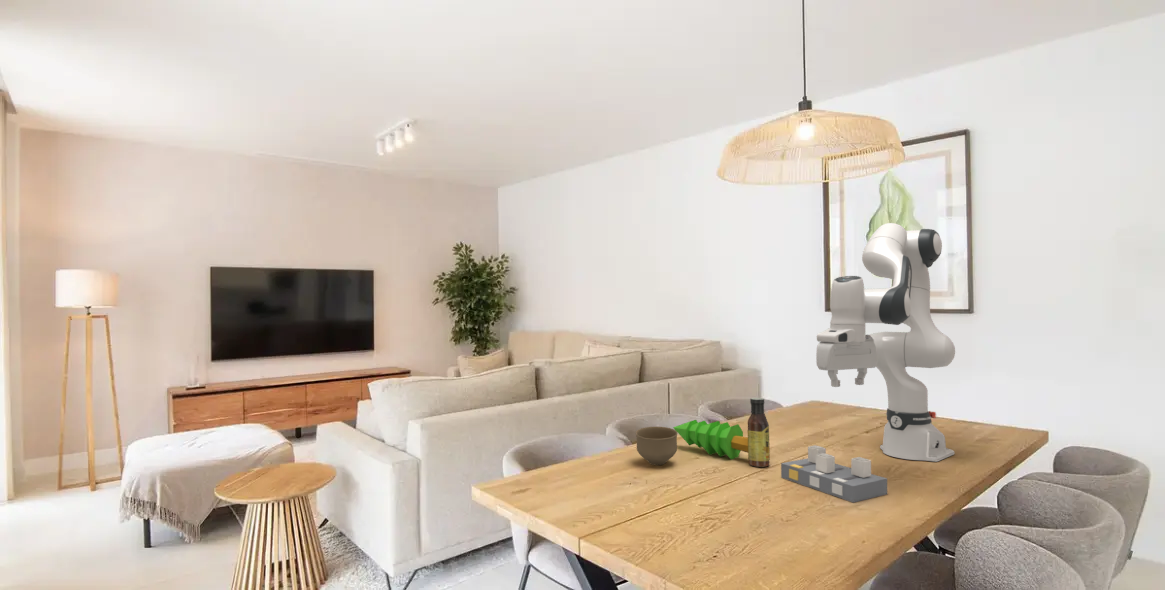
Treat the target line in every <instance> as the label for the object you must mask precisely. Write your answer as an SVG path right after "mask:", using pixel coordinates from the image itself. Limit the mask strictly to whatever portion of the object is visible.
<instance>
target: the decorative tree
mask: <svg viewBox="0 0 1165 590" xmlns="http://www.w3.org/2000/svg"><path fill="white" fill-rule="evenodd" d="M672 429H674V430H676V431H677V433H678V435H679V436H680V437H681V438H682V439H683V440H684V441H685V442H686V444H687V445H689V446H691V445H695V446H697V447H698V448H703V450H704V451H705V452H706V453H707V454H708V455H710V456H711V455H714V454H717V455H718V456H719V457H723V456H727V457H728V459H730V460H731V461H732V460H734V459H737V458H739V457H740V453H741V452H745V453H747V454H748V436H747V437H746V436H744V430H742V428H741V426H740V424H739V423H738V424H734V425H730V423H729V422H728V421H726V422H723V423H720V421H719V420H718V421H717V420H716V421H715V422H710V423H707V421H706V420H702V421H698V420H697V419H694V420H691V421H690V420H689V421H686V422H685V423H682V424H680V425H675V426H673V427H672Z"/></svg>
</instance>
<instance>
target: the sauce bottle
mask: <svg viewBox="0 0 1165 590" xmlns="http://www.w3.org/2000/svg"><path fill="white" fill-rule="evenodd" d="M749 400H750V401H749V402H750V408H751V410H750V416H749V418H748V419H747V437H748V453H747V454H748V455H747V456H748V457H747V458H748V464H749V465H750V466H752V467H756V468H765V467H768V466H770V460H771V456H770V455H771V453H770V452H771V451H770V449H771V448H770V445H771V444H770V425H769V422H768V419H767V416H766V412H765V398H763V397H751V398H750V399H749Z"/></svg>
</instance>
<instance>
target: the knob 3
mask: <svg viewBox="0 0 1165 590" xmlns="http://www.w3.org/2000/svg"><path fill="white" fill-rule="evenodd" d="M850 460H851V461H850V463H851V466H850V468H851V474H852V475H856V476H859V477H862V478H865V477H869V476H871V474H872V460H871V459H868V458H866V457H865V458H864V457H861V456H857V457H852V458H850Z"/></svg>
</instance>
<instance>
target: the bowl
mask: <svg viewBox="0 0 1165 590" xmlns="http://www.w3.org/2000/svg"><path fill="white" fill-rule="evenodd" d="M678 435H679V433H678V432H677V431H676V430H675V429H674V428H670V427H667V426H666V427H665V426H646V427H642V428H639V429H637V430H636V431H635V437H636V450H637V452H638V455H640V456H641V458H642V459H644V460H646V461H647V462H648V463H649V464H650V465H652V466H662V465H665V464H666V463H667V462H668V461H669V460H671V459H672V458H673V457H674V456H675V454H676V453H677V451H678Z"/></svg>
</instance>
